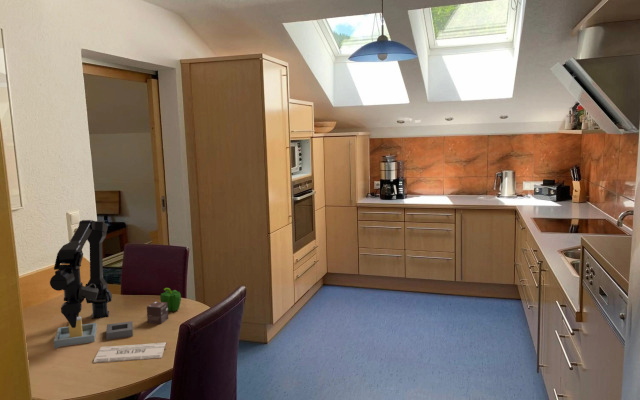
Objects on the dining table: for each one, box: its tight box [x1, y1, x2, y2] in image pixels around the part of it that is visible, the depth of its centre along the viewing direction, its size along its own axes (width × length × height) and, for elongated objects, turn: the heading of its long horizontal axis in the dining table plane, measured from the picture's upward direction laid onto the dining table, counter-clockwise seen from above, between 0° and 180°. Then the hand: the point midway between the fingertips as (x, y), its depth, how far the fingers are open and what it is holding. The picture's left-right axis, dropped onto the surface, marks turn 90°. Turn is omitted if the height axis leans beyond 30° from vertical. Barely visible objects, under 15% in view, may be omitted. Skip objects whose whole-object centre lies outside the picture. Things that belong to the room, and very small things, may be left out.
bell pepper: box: [159, 287, 182, 312], centre depth 212 cm, size 8×8×10 cm
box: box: [146, 301, 169, 325], centre depth 199 cm, size 6×6×7 cm
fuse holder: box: [105, 320, 134, 341], centre depth 187 cm, size 9×9×3 cm
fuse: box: [68, 315, 83, 338], centre depth 183 cm, size 3×4×7 cm
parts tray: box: [53, 322, 98, 349], centre depth 183 cm, size 13×13×3 cm
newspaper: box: [93, 341, 168, 364], centre depth 172 cm, size 23×12×2 cm, turn 99°
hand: (75, 323), depth 183 cm, fingers open, 9 cm apart
